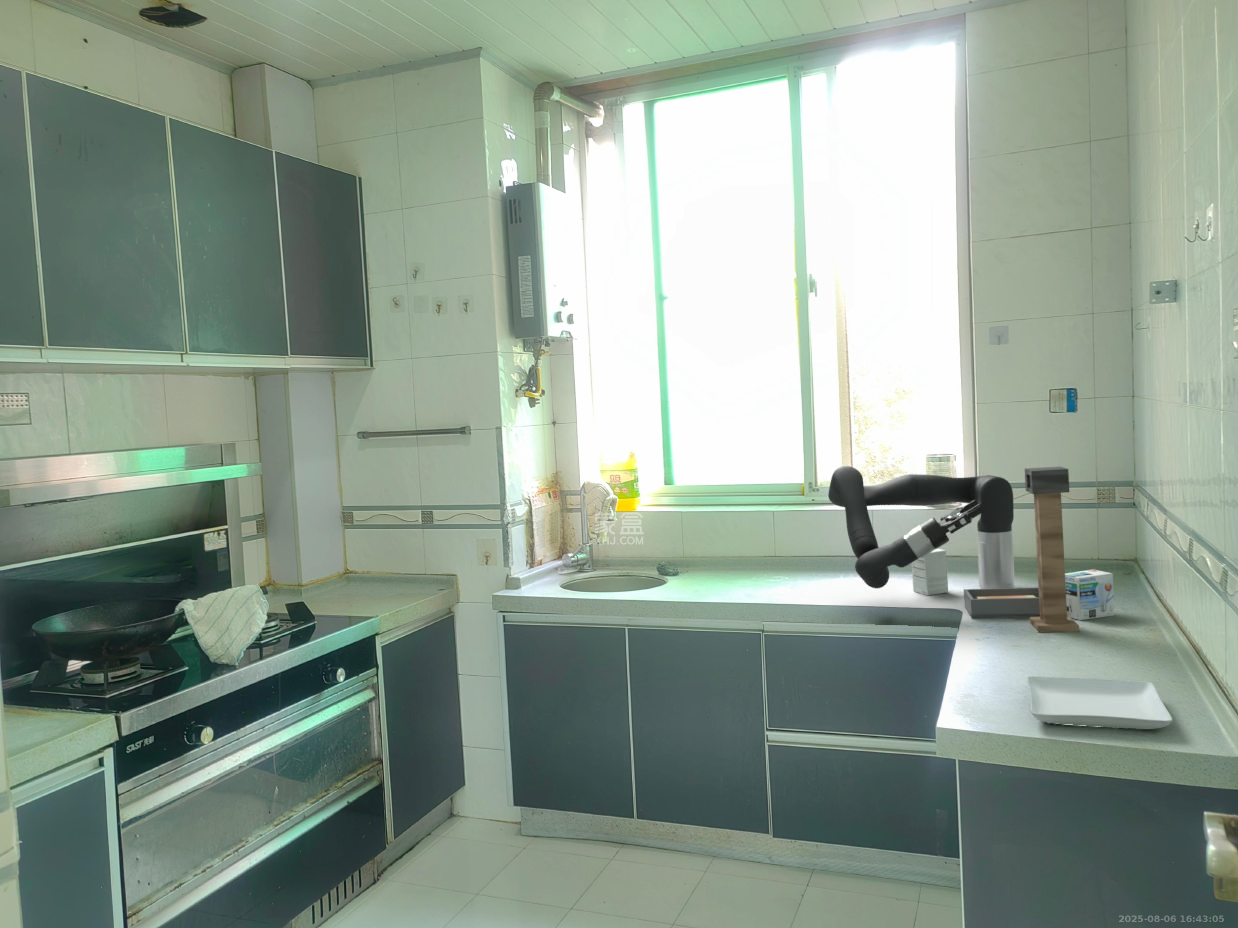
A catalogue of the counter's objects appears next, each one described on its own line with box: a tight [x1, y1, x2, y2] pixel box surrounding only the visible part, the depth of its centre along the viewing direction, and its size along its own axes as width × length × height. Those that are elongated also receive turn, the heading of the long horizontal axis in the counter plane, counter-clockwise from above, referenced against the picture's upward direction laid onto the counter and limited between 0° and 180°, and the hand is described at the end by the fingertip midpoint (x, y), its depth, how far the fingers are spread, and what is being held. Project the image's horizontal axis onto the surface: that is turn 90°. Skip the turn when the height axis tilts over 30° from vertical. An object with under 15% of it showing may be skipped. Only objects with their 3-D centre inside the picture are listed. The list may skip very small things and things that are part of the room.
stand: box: [1024, 466, 1080, 633], centre depth 216 cm, size 9×9×38 cm
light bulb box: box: [1065, 569, 1115, 621], centre depth 225 cm, size 11×7×11 cm, turn 105°
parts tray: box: [963, 586, 1040, 620], centre depth 235 cm, size 13×20×5 cm, turn 77°
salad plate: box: [1025, 675, 1173, 730], centre depth 160 cm, size 21×21×3 cm
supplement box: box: [911, 548, 949, 596], centre depth 265 cm, size 7×7×13 cm
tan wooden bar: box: [977, 595, 1035, 599], centre depth 235 cm, size 3×14×3 cm, turn 77°
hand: (980, 504), depth 234 cm, fingers open, 8 cm apart
